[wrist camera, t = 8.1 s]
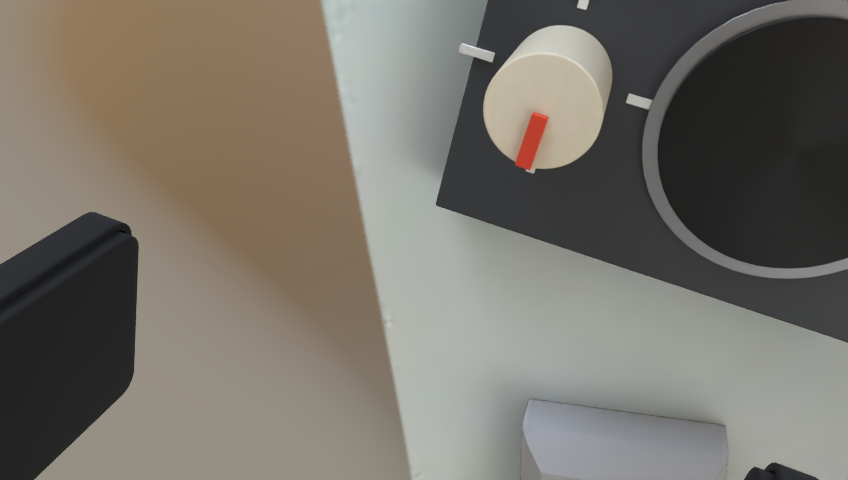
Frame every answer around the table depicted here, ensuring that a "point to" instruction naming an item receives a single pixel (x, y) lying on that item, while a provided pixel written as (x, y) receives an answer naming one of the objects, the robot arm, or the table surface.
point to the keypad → (617, 445)
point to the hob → (612, 158)
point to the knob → (549, 98)
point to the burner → (757, 142)
